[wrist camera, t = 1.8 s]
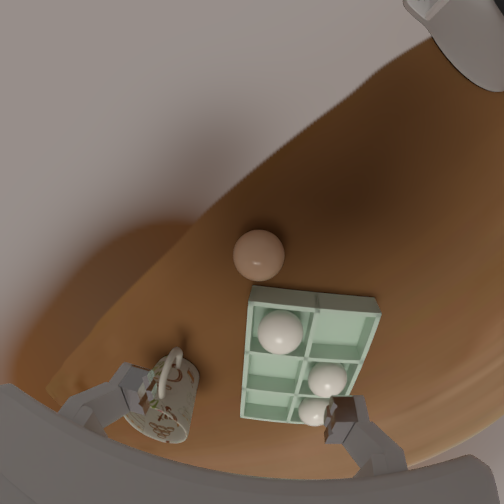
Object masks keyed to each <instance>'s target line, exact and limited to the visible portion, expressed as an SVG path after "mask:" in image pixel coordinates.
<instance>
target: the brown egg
mask: <svg viewBox="0 0 504 504" xmlns="http://www.w3.org/2000/svg"><path fill="white" fill-rule="evenodd" d="M284 259H285V253H284V248H283V245H282V243H281V241H280V240H279V239H278V238H277V237H276V236H275V235H274V234H272V233H271V232H269V231H266V230H252V231H249V232H247V233H245V234H244V235H242V236H241V237H240V238H239V239H238V241H237V242H236V244H235V246H234V250H233V261H234V264H235V267H236V269H237V270H238V272H239V273H240V274H241V275H242V276H244V277H245V278H247V279H249V280H252V281H265V280H268V279H271V278H272V277H274V276H275V275H276V274H277V273H278V272H279V271H280V269H281V268H282V266H283V263H284Z"/></svg>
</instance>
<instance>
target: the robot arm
mask: <svg viewBox="0 0 504 504" xmlns="http://www.w3.org/2000/svg"><path fill="white" fill-rule="evenodd" d="M403 5H404V7H405V8H406V9H407V11H408V12H409V13H410V14H411V15H413V16H414V17H415V18H416V19H417V20H418V21H419V22H421V23H422V24H423V25H424V26H425V27H426V28H427V29H428V31H429V32H430V34H431V35H432V37H433V38H434V40H435V42H436V43H437V45H438V46H439V48H440V49H441V50H442V52H443V53H444V54H445V56H446V57H447V58H448V59H449V60H450V62H451V63H452V64H453V65H454V66H455V67H456V68H457V69H458V70H459V71H460V72H461V73H462V74H463V75H464V76H466V77H467V78H468V79H469V80H470V81H472V82H473V83H475V84H476V85H478V86H480V87H482V88H484V89H486V90H489V91H493V92H501V91H504V0H418V1H417V0H403ZM154 376H155V374H154V371H153V370H150V369H147V368H143V367H140V366H137V365H133V364H130V363H127V362H124V363H123V364H122V365H121V366H120V368H119V369H118V370H117V372H116V373H115V374H114V376H113V377H112V379H111V380H110V381H109V383H108V382H105V383H103V384H100V385H98V386H96V387H93V388H91V389H89V390H86V391H84V392H81V393H79V394H76V395H74V396H71V397H69V399H68V400H67V401H66V403H65V404H64V405H63V406H62V408H61V409H60V410H59V412H58V413H56V412H55V411H53V410H51V409H50V408H48V407H46V406H45V405H43V404H42V403H40V402H38V401H37V400H35V399H34V398H32V397H31V396H29V395H28V394H26V393H25V392H23V391H22V390H20V389H19V388H17V387H16V386H14V385H12V384H4V385H0V504H500V501H499V497H498V491H497V487H496V483H495V479H494V476H493V473H492V471H491V469H490V467H489V466H488V465H486V464H485V463H484V462H482V461H481V460H479V459H478V458H476V457H475V456H473V455H464V456H461V457H458V458H455V459H451V460H448V461H445V462H441V463H437V464H434V465H430V466H425V467H422V468H417V469H412V470H408V469H407V464H406V460H405V456H404V451H403V449H402V448H401V447H399V446H398V445H397V444H396V443H395V442H394V441H393V440H392V439H391V438H390V437H389V436H387V435H386V434H385V433H384V432H383V431H382V430H381V429H380V428H379V427H378V426H377V425H376V424H375V423H373V422H370V421H369V416H368V411H367V407H366V403H365V398H364V396H363V395H353V396H352V395H331V397H330V399H329V405H328V406H326V409H325V412H324V426H325V427H326V429H325V432H324V437H325V444H342V445H343V446H344V447H345V449H346V450H347V451H348V453H349V454H350V455H351V457H352V458H353V459H354V460H355V462H356V463H357V464H358V466H359V467H360V468H361V469H360V470H359V471H358V472H357V473H356V475H355V476H354V477H353V478H345V479H320V480H305V479H280V478H267V477H257V476H248V475H241V474H234V473H228V472H222V471H216V470H211V469H206V468H202V467H197V466H193V465H188V464H184V463H181V462H177V461H173V460H169V459H166V458H163V457H159V456H156V455H153V454H150V453H147V452H144V451H141V450H138V449H135V448H132V447H130V446H127V445H124V444H122V443H119V442H117V441H114V440H112V439H110V438H108V436H107V434H106V433H105V431H104V429H103V428H105V427H106V426H108V425H110V424H111V423H113V422H114V421H116V420H118V419H119V418H121V417H122V416H124V415H125V414H127V413H129V412H130V411H131V412H135V413H138V414H141V415H146V413H147V411H148V409H149V407H150V404H149V402H150V401H152V400H153V399H154V398H155V396H156V392H157V383H156V381H155V380H154V379H153V378H154Z"/></svg>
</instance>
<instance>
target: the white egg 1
mask: <svg viewBox="0 0 504 504" xmlns="http://www.w3.org/2000/svg"><path fill="white" fill-rule="evenodd" d="M257 335H258V340H259V342H260V344H261V345H262V347H263V348H264V349H265V350H267V351H268V352H270V353H272V354H276V355H284V354H288V353H290V352H292V351H294V350H295V349H296V348H297V347H298V346H299V345H300V343H301V341H302V338H303V325H302V323H301V321H300V319H299V318H298V317H297V316H296V315H295V314H294V313H292V312H290V311H287V310H274V311H271V312H269V313H268V314H266V315H265V316H264V317H263V318H262V319H261V321H260V323H259V325H258V330H257Z"/></svg>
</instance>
